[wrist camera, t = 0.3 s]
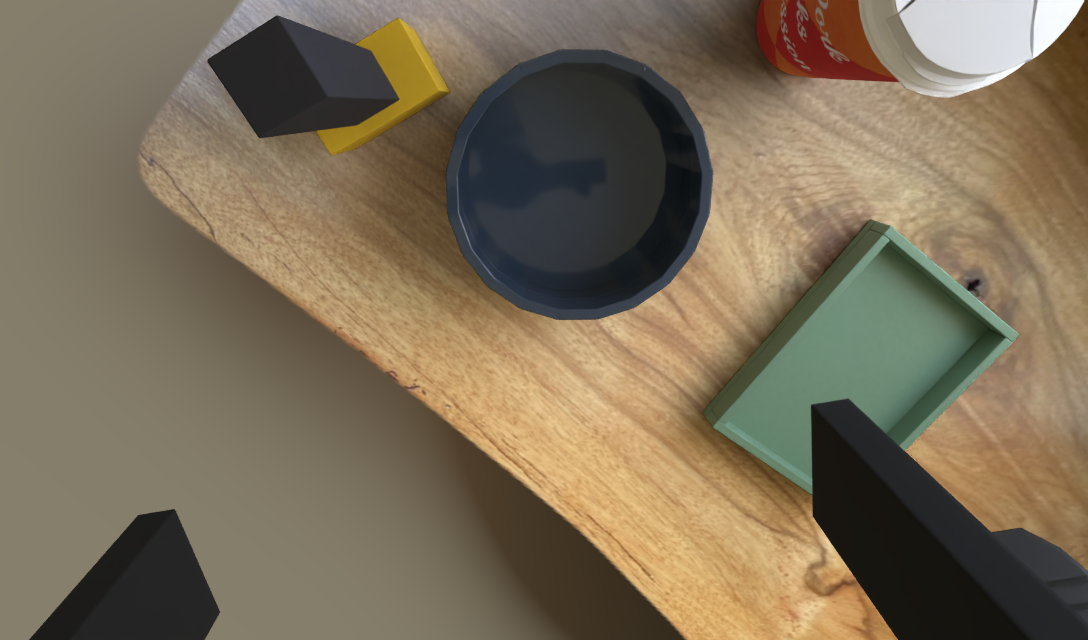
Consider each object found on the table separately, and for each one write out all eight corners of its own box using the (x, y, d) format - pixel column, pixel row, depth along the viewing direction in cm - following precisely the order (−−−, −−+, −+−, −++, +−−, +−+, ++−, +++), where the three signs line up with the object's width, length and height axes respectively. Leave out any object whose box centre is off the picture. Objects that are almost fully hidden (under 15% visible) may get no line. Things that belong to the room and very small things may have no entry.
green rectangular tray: (870, 219, 37) (890, 225, 35) (995, 323, 40) (1020, 335, 38) (702, 411, 41) (712, 427, 39) (826, 496, 43) (841, 515, 41)
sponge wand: (317, 89, 34) (139, 75, 18) (414, 29, 33) (320, -42, 17) (355, 149, 35) (220, 187, 19) (450, 92, 34) (393, 82, 18)
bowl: (547, 1, 33) (552, -15, 29) (736, 156, 36) (767, 163, 32) (408, 209, 36) (394, 224, 32) (593, 337, 39) (603, 365, 35)
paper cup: (767, -84, 32) (945, -216, 19) (903, -37, 33) (1165, -132, 20) (713, 77, 34) (839, 60, 21) (842, 116, 35) (1040, 123, 22)
